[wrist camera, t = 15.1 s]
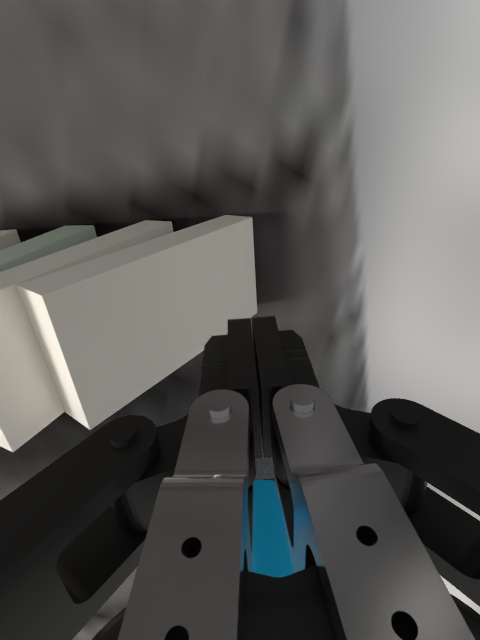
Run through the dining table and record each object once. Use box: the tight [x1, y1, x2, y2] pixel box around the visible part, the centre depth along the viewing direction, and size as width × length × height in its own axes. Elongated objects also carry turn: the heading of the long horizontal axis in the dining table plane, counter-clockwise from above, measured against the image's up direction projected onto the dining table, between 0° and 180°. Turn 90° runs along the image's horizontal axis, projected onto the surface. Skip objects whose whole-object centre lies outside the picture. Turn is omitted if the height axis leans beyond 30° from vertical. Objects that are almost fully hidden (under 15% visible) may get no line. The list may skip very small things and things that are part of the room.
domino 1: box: [0, 225, 97, 272], centre depth 14 cm, size 2×5×10 cm, turn 4°
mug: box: [253, 480, 293, 577], centre depth 25 cm, size 12×8×8 cm
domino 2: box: [0, 220, 173, 452], centre depth 15 cm, size 2×5×10 cm, turn 4°
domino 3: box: [16, 215, 257, 430], centre depth 15 cm, size 2×5×10 cm
